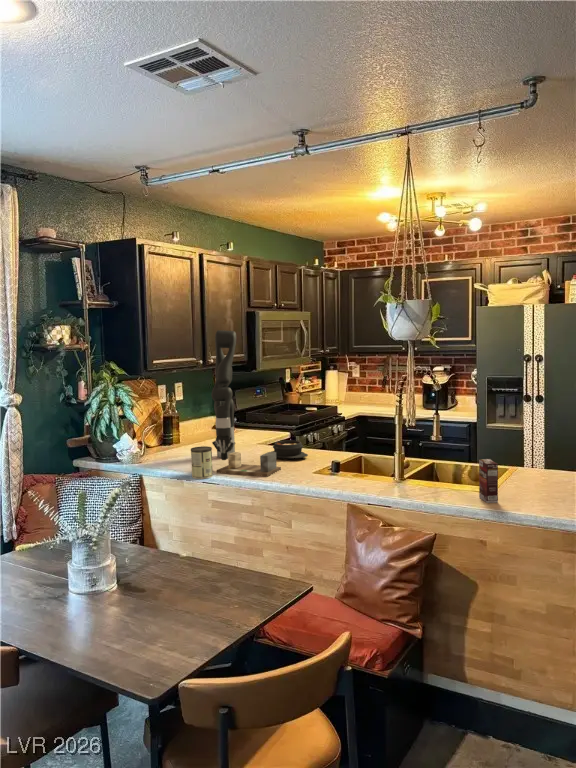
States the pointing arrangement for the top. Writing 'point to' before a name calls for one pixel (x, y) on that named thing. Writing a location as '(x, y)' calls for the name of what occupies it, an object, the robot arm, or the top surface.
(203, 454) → the coffee can
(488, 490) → the supplement box
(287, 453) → the casserole
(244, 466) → the board
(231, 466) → the tan wooden block
